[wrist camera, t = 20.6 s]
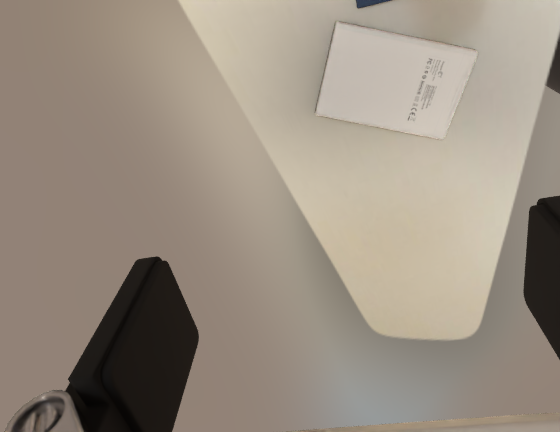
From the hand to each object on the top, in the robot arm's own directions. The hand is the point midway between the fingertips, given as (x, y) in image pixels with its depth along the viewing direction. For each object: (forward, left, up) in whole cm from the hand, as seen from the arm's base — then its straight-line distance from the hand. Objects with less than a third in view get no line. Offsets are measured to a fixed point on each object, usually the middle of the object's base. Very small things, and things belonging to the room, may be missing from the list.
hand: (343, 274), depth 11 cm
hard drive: (-6, +4, -32) cm, 33 cm away
